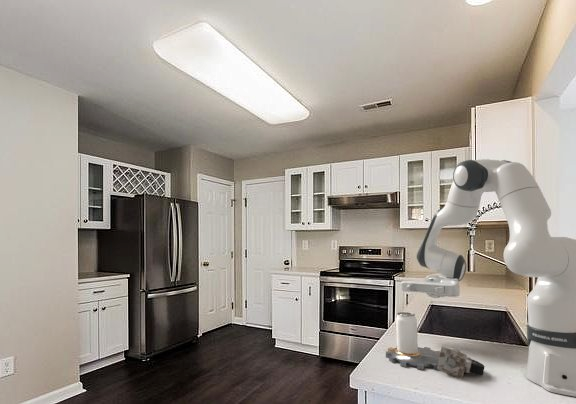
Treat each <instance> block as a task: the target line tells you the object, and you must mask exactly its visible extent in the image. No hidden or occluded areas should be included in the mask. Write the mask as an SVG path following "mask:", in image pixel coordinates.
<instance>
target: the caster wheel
mask: <svg viewBox="0 0 576 404" xmlns="http://www.w3.org/2000/svg"><path fill="white" fill-rule="evenodd" d="M440 351H441V352H440V357H439V362H438V367H437V369H436V370H439V371H440V372H443V373H446V374H448V375H451V376H453V377H456V378H457V379H464V374H465V373H467V374H473V375H477V376H483V375H484V370H485V365H484V364H483V363H481V362H479V361H477V360H475V359H473V358H471V357H470V356H468V355H467V354H466V353H464V352H461V350H459V349H458V348H455V347H446V346H444V345H442V346H441V349H440Z"/></svg>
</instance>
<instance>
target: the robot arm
mask: <svg viewBox="0 0 576 404" xmlns="http://www.w3.org/2000/svg"><path fill="white" fill-rule="evenodd" d="M454 167H455V168H454V170H453V172H452V173H453V174H452V179H453V180H452V183H451V186H450V189H449V192H448V195H447V199H446V203H445V205H444V207H443V208H440V209H438V210H437V211H436V212H435V213H434V215H433V217H432V219H431V221H430V223H429V225H428V228H427V230H426V233H425V236H424V238H423V241H422V243H421V245H420V247H419V249H418V250H417V253H416V260H417V262H418V263H419V266H421V267H422V268H423V267H424V268H426V269H430V270H432V271H435V272H437V273H433V274H428V275H427V276H426V277H424V278H423V280H415V279H413V280H402V281H401V282H400V288H401V291H402V292H409V293H410V292H411V293H421V294H426V295H427V296H428V297H430V298H433V299H439V298H446V297H453V298H454V297H459V296H460V292H461V291H460V281H462V280H463V279H464V276H465V273H466V270H467V263H466V260H465V257H464V256H463V255H462V254H460V253H457V252H454V251H451V250H448V249H447V248H446V249H445V248H443V247H439V246H438V245H437V244H436V243H437V239H438V237H439V235H440V233H441V231H442V229H443V227H453V226H462V225H466V224H467V225H468V224H469V223H471V222H472V221H474V219H475V218H476V217H477V214H478V213H479V209H480V205H481V199H482V195H483V194H484V193H489V192H490V193H494V192H495V193H496V194H495V195H496V196H497V199H498V202H499V203H500V207H501V209H502V210H503V213H504V216H505V218H506V221H507V224H508V228H509V240H508V242H507V245H506V246H505V247H504V249H503V250H504V251H503V261H504V264H505V266H506V268H507V269H508V270H510V271H511V272H512V273H514V274H515V275H520V276H523V277H528V278H537V279H536V283H535V284H534V287H533V289H532V290H531V291H530V292H529V293H528V295H527V297H526V305H527V324H526V341H527V345H528V354H527V355H528V358H527V362H526V363H527V364H526V367H525V372H524V376H525V378H526V379H528V380H529V381H531V382H533V383H535V384H536V385H538V386H541V387H542V388H543V389H545V390H547V391H548V392H549V393H550V392H551V393H555V394H560V395H564V396H568V397H569V396H572V397H576V239H575V238H571V237H568V236H567V237H566V236H551V234H550V233H549V228H548V226H549V225H548V220H549V219H550V218H551V217H552V209H551V208H550V206H549V204H548V201H547V200H546V198H545V195H544V194H543V192H542V190H541V188H540V186H539V185H538V182H537V181H536V179H535V178H534V176H533V175H532V174H531V172H530V171H529V170H528V168H527V167H526V166H525V165H524V164H523V163H521V162H517V161H515V162H514V161H510V160H506V159H504V160H499V159H497V160H496V159H489V158H483V159H482V158H481V159H467V160H463V161H461V162H459V163H457V164H456V165H455V166H454Z"/></svg>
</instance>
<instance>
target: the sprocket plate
mask: <svg viewBox="0 0 576 404" xmlns="http://www.w3.org/2000/svg"><path fill="white" fill-rule="evenodd" d="M440 352H441V350H432V349H431V347H427V346H424V347H418V352H417V353H416V354H403V353H400V352H399V351H398V350H397V347H388V348H387V350H386V351H385V358H388V361H389V362H391V363H398V364H400V365H399V366H400V367H404V368H407V367H412V368H416V370H422V371H424V370H425V369H432V370H434V371H436V370H438V369H437V367H438V362H439V357H440Z"/></svg>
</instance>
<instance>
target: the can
mask: <svg viewBox="0 0 576 404" xmlns="http://www.w3.org/2000/svg"><path fill="white" fill-rule="evenodd" d="M417 322H418V320H417V317H416V314H415V313H413V312H407V311H406V312H404V311H401V312H397V315H396V317H395V324H396V325H395V326H396V327H395V329H396V348H397V350H398V351H399V352H400V353H403V354H416V353H417V352H418V346H419V344H418V340H419V339H418V323H417Z"/></svg>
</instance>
